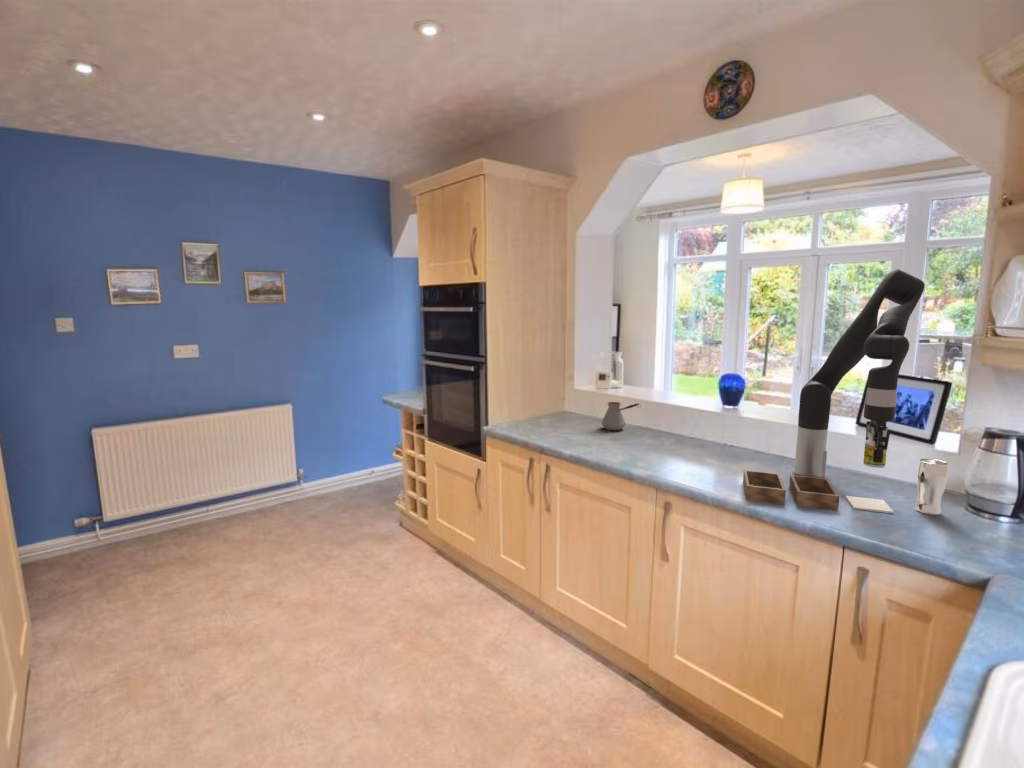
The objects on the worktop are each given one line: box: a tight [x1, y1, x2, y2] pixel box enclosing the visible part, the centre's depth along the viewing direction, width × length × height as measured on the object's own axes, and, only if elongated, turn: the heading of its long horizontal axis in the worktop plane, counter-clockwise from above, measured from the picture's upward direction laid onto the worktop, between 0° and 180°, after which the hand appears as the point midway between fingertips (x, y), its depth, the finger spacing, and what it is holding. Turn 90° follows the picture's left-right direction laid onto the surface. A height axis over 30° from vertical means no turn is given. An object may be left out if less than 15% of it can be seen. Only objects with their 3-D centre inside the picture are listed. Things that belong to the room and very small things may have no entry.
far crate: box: [742, 469, 787, 505], centre depth 169 cm, size 11×17×4 cm, turn 159°
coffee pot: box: [601, 401, 641, 431], centre depth 251 cm, size 21×12×15 cm, turn 36°
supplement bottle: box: [863, 433, 888, 469], centre depth 157 cm, size 5×5×10 cm
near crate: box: [788, 474, 840, 512], centre depth 164 cm, size 11×17×4 cm, turn 159°
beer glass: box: [914, 458, 949, 516], centre depth 154 cm, size 7×7×15 cm
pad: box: [845, 495, 895, 515], centre depth 159 cm, size 10×10×1 cm
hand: (874, 459), depth 157 cm, fingers closed on supplement bottle, 5 cm apart
